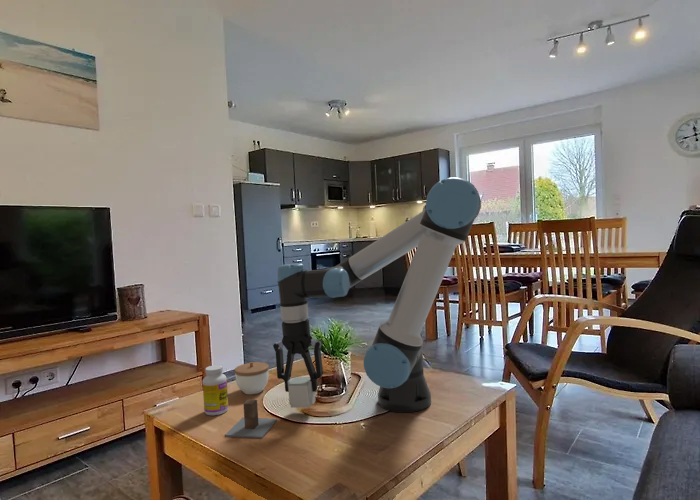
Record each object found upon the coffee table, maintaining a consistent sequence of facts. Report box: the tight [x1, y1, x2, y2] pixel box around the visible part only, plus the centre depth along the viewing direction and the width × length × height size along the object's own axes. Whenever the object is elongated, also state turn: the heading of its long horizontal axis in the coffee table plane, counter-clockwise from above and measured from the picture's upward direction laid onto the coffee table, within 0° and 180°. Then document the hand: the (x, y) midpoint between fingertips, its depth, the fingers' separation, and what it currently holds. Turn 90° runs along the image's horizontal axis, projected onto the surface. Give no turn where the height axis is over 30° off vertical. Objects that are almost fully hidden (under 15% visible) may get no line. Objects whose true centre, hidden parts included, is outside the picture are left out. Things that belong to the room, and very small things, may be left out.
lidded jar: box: [234, 361, 270, 395], centre depth 139 cm, size 11×11×9 cm
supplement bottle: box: [202, 364, 229, 416], centre depth 124 cm, size 7×7×13 cm
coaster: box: [224, 416, 278, 439], centre depth 112 cm, size 10×10×1 cm
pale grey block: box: [288, 376, 311, 409], centre depth 119 cm, size 5×5×7 cm
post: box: [243, 399, 259, 429], centre depth 112 cm, size 3×3×7 cm
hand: (302, 402), depth 119 cm, fingers closed on pale grey block, 5 cm apart
